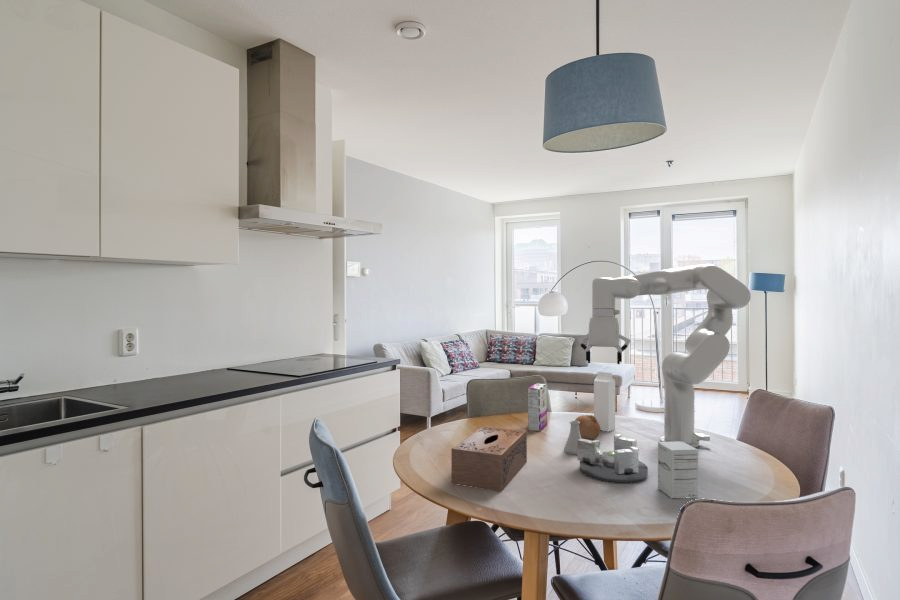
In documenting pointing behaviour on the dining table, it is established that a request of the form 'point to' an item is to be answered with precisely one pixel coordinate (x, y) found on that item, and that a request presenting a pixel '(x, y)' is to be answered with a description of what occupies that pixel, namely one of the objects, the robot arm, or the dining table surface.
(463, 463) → the tissue box cover
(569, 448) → the flask
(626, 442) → the knob
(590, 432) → the onion
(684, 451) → the supplement box
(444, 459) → the dining table surface
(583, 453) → the knob front
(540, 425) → the candy bar box
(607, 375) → the milk
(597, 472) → the levelling plate
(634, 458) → the knob
